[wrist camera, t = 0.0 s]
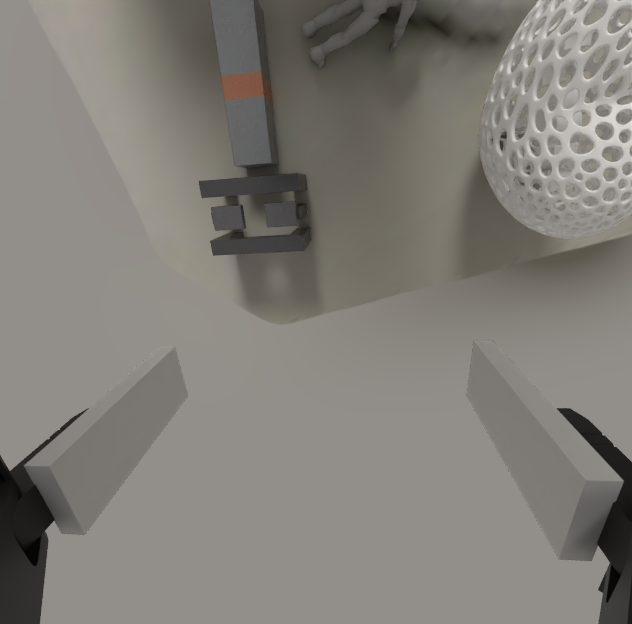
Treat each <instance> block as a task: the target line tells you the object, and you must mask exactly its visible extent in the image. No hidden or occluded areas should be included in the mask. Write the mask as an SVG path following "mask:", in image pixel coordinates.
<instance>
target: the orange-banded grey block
mask: <svg viewBox="0 0 632 624" xmlns="http://www.w3.org/2000/svg"><path fill="white" fill-rule="evenodd" d="M210 7H211V13H212V20H213V26H214V33H215V40H216V46H217V53H218V59H219V66H220V73H221V79H222V86H223V92H224V99H225V105H226V112H227V119H228V125H229V132H230V138H231V145H232V152H233V158H234V165H235V166H238V167H244V168H248V167H260V166H272V165H279V162H278V152H277V143H276V133H275V123H274V114H273V104H272V95H271V85H270V75H269V66H268V56H267V47H266V37H265V27H264V18H263V11H262V9H261V7H260V5H259V3H258V1H257V0H210Z"/></svg>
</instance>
